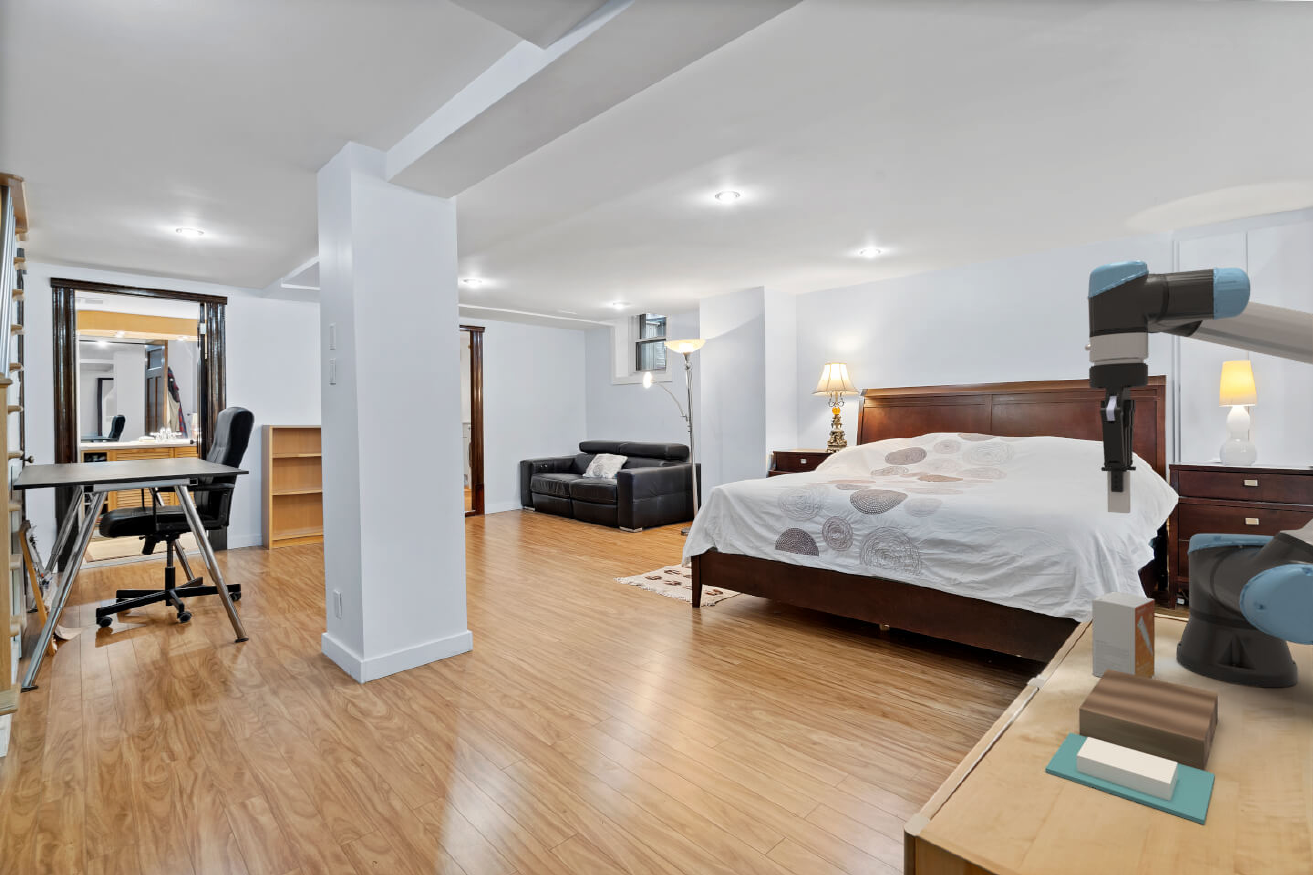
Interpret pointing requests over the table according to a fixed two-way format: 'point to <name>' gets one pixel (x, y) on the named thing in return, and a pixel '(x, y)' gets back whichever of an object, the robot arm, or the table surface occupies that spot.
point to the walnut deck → (1151, 717)
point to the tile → (1128, 768)
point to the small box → (1123, 634)
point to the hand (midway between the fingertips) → (1118, 511)
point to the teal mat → (1184, 803)
